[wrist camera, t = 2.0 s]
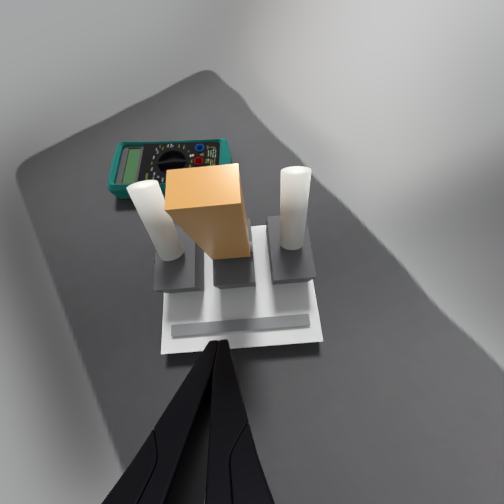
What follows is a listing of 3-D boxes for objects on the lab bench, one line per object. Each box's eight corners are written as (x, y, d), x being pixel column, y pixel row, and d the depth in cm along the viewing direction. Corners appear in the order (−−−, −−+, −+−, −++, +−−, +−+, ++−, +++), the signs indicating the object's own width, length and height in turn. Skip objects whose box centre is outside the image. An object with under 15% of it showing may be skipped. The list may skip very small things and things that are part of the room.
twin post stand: (318, 339, 19) (385, 373, 9) (168, 350, 19) (65, 397, 9) (299, 221, 23) (330, 150, 13) (173, 232, 23) (104, 172, 13)
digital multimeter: (232, 199, 24) (229, 184, 22) (118, 201, 25) (100, 187, 22) (233, 152, 27) (230, 133, 24) (128, 155, 27) (113, 137, 24)
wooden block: (253, 258, 17) (245, 202, 8) (212, 262, 17) (159, 210, 8) (251, 237, 17) (242, 162, 8) (211, 241, 17) (162, 170, 9)
